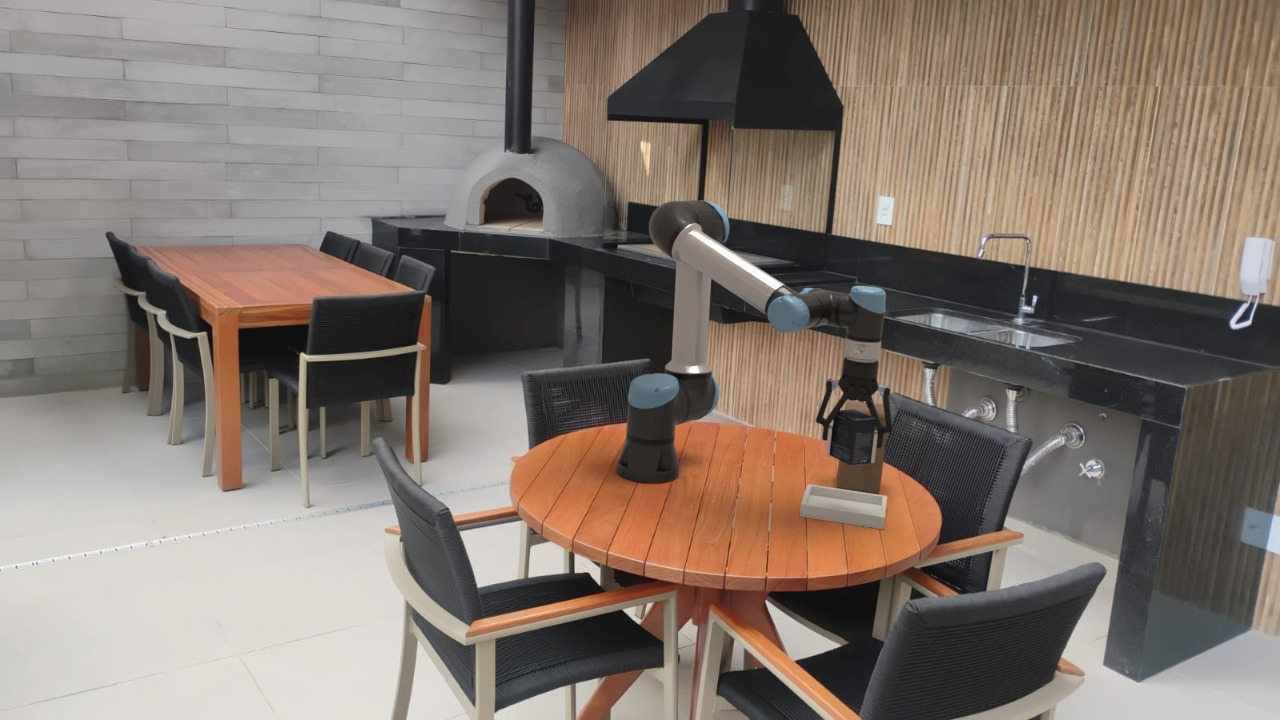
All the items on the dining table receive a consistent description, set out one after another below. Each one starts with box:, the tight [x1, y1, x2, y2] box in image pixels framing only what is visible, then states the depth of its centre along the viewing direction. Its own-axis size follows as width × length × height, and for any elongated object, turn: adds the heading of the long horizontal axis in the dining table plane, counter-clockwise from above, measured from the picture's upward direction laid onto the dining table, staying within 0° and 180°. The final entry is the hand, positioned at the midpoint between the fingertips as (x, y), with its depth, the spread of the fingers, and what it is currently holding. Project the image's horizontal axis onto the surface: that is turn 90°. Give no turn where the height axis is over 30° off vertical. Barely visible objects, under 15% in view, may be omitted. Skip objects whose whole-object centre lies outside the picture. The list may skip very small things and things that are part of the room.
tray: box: [799, 483, 888, 531], centre depth 220 cm, size 18×14×3 cm
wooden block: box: [836, 400, 888, 495], centre depth 235 cm, size 10×10×20 cm
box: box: [829, 409, 876, 466], centre depth 216 cm, size 8×6×11 cm
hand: (850, 457), depth 217 cm, fingers closed on box, 9 cm apart
